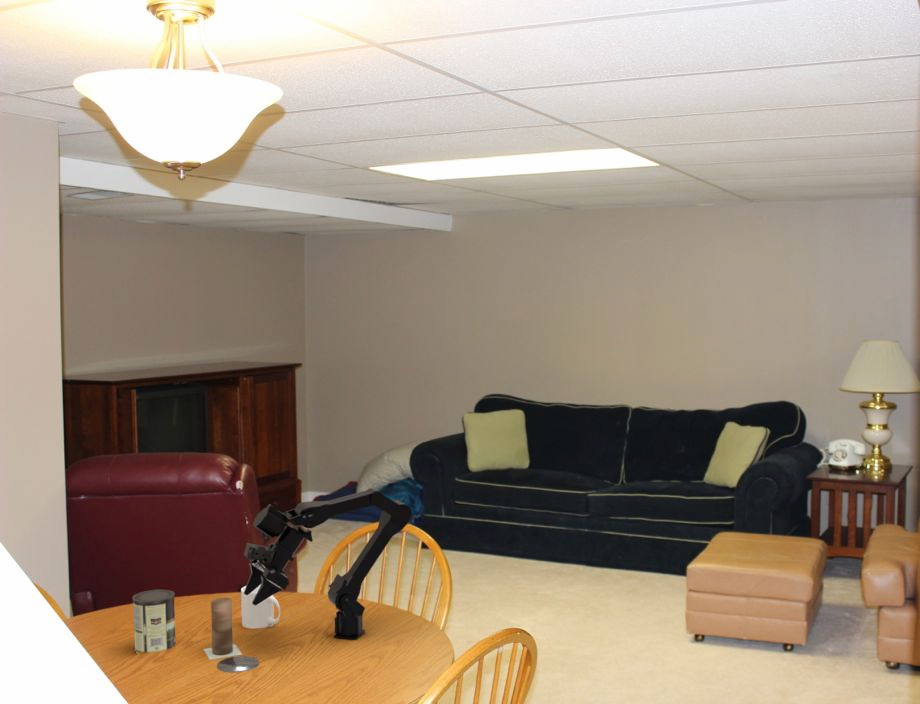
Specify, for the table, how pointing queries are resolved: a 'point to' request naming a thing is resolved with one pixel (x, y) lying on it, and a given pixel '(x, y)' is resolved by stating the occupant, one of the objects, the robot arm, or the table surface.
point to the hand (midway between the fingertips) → (249, 599)
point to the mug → (258, 611)
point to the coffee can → (154, 620)
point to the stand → (212, 656)
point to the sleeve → (221, 626)
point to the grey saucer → (238, 664)
